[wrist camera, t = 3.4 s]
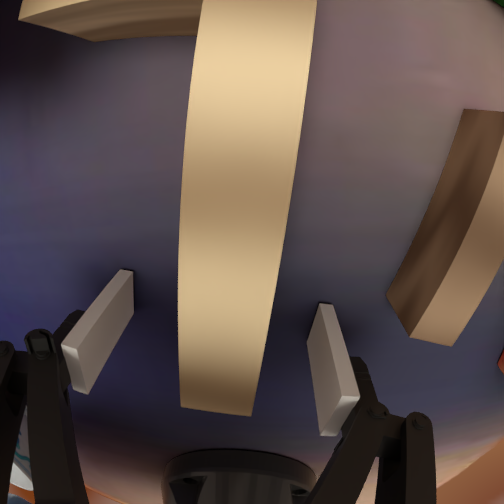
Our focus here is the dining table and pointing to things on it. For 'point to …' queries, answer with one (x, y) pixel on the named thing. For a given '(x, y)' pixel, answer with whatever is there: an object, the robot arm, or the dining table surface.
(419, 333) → the brown wooden bar
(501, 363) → the cracker box
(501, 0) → the milk carton
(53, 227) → the dining table surface
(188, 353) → the crook
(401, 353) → the dining table surface
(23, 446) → the chinaware
